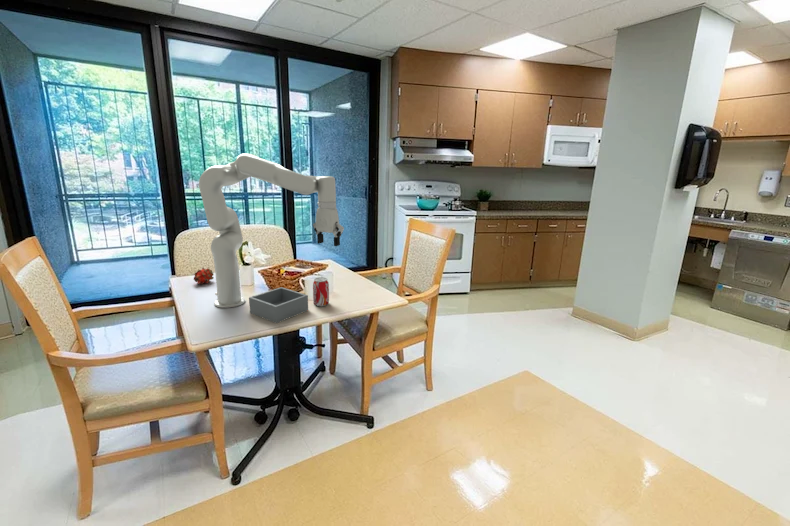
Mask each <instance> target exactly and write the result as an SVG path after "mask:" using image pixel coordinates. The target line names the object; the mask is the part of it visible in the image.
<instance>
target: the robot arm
mask: <svg viewBox="0 0 790 526" xmlns="http://www.w3.org/2000/svg"><path fill="white" fill-rule="evenodd" d="M251 177H252V178H255V179H258V180H259V181H264V182H266V183H270V184H272V185H275V186H278V187H281V188H283V189H286V190H289V191H291V192H294V193H297V194H299V195H300V194H301V195H303V196H304V195H307V196H308V195H311V194H314V193H317V205H318V208H317V209H316V215H315V222H313V224H312V226H313V229H314V231H315V235H317V238H316V239H317V244H318V245H320V244H323V243H324V234H323V233H328V234H333V236H334V237H333V247H339V246H340V245H341V239H340V238H341V237H342V235H343V232H344V230H345V227H344V226H343V225H341V224H340V218H339V212H338V208H337V196H336V195H337V193H336V192H337V191H336V178H335V177H334V176H332V175H330V176H328V175H321V176H315V175H304V174H301V173H298V172H296V171H293V170H290V169H287V168H285V167H284V166H282V165H281V164H279V163H277V162H274V161H270V160H268V159H264V158H262V157H259V156H257V155H255V154H254V153H253V154H252V153H245V152H244V153H241V154H239V155H238V156H237V157H236V159H235V160H234V161H232V162H229V163H228V164H218V165H213V166H210V167H208V168H207V169H205V170H204V171H203V172H202V174H201V175H200V177H199V180H198V188H199V192H200V196H201V201H202V204H203V209H204V212H205V216H206V221H207V224H208V227H209V228H210V229H211V230H213V231H215V232H218V233H219V234H218V235H216V236H215V237H214V238H213V239H212V240H211V243H210V250H211V251H210V252H211V254H212V257H213V264H214V272H215V273H214V275H215V281H216V282H215V283H216V292H215V296H216V297H217V299H215V300H214V303H213V304H214V306H215V307H218V308H222V309H225V308H226V309H227V308H228V309H229V308H230V309H231V308H234V307H240V306H241V305H243V304H245V302H246V298H245V297H243V296H242V292H241V280H240V278H241V277H240V268H239V259H238V256H237V251H238V250H239V249H240V248H241V247H242V245H243V242H244V241H243V234H242V230H241V229H242V227H241V224H240V220H239V217H238V214H237V212H236V211H235V210H234V209H233V208H231V207H229V206H227V204H226V203H227V202H226V199H225V194H224V193H223V190H222V188H223V187H228V186H233V185H235V184H238V183H240V182H242V181H245V180H247V179H248V178H251Z"/></svg>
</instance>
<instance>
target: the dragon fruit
mask: <svg viewBox="0 0 790 526" xmlns="http://www.w3.org/2000/svg"><path fill="white" fill-rule="evenodd" d="M214 276H215V273H213V270H211V269H210V268H209V267H208V268H204V267H201V269H198V270H197V271H196V272H195V273H194V275H193V280H194V282H195V283H197V284H196V285H203V284H204V283H205V284H209V283H210V281H212V280H214Z"/></svg>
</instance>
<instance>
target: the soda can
mask: <svg viewBox="0 0 790 526" xmlns="http://www.w3.org/2000/svg"><path fill="white" fill-rule="evenodd" d="M312 298H313V299H312V300H313V305H315V306H316V305H317V306H316V307H326V306H327V305H328V304H330V303H329V301H330V284H329V281H328V278H326V277H316V278H314V280H313V282H312Z"/></svg>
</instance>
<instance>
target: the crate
mask: <svg viewBox="0 0 790 526" xmlns="http://www.w3.org/2000/svg"><path fill="white" fill-rule="evenodd" d="M248 303H249V306H248V307H249V314H252V315H254V314H255V316H257V317H259V316H260V317H259V318H262V317H263V318H262V319H264V318H265V320H267V319H268V320H267V321H269V322H272V321H273V323H274V324H278V323H281V322H283V321H285V320H284V319H286V318H288V319H290V318H289V317H291V318H292V316H293V317H295V316H298V315H300V314H302V312H303V313H305V312H308V311H309V295H308V294H306V293H302V292H298V291H296V290H291V289H289V288H285V287H282V286H281V287H277V288H274V289H271V290H268V291H265V292H261V293H258V294H255V295H252V296H249V297H248ZM307 310H308V311H307ZM297 314H298V315H297ZM282 320H283V321H282ZM286 320H287V319H286ZM280 321H281V322H280Z"/></svg>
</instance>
